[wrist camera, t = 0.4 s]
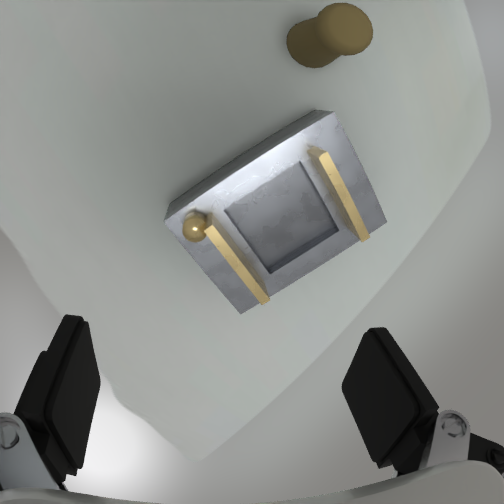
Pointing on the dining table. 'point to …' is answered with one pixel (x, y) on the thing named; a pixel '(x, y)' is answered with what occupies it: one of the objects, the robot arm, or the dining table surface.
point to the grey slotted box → (277, 210)
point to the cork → (330, 35)
